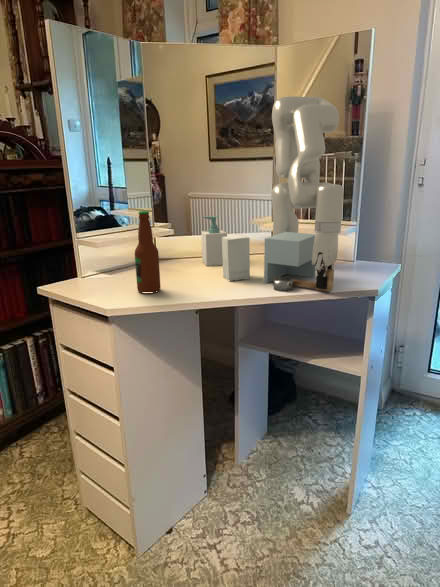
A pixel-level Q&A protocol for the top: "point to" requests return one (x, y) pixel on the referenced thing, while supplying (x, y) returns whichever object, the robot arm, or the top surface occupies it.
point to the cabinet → (289, 255)
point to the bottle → (146, 257)
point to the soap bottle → (212, 244)
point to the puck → (283, 284)
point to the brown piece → (313, 284)
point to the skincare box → (236, 257)
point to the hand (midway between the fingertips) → (324, 286)
